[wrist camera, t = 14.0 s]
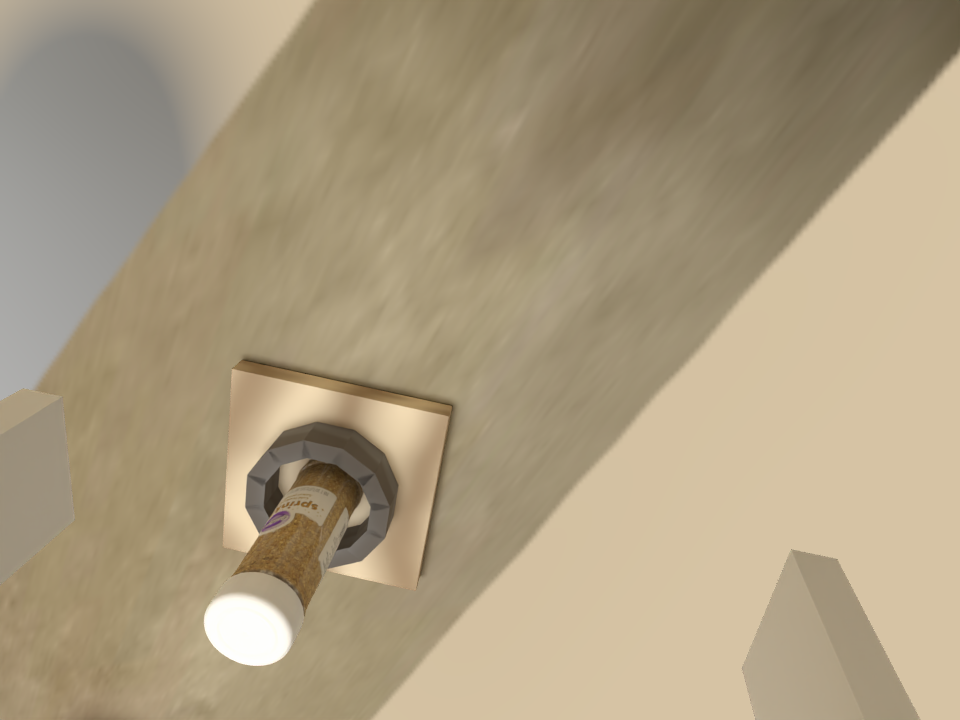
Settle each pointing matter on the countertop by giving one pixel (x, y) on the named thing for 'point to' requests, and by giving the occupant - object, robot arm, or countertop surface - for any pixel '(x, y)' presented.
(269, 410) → the mount plate
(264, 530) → the sprinkles bottle
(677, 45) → the countertop surface
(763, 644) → the robot arm
